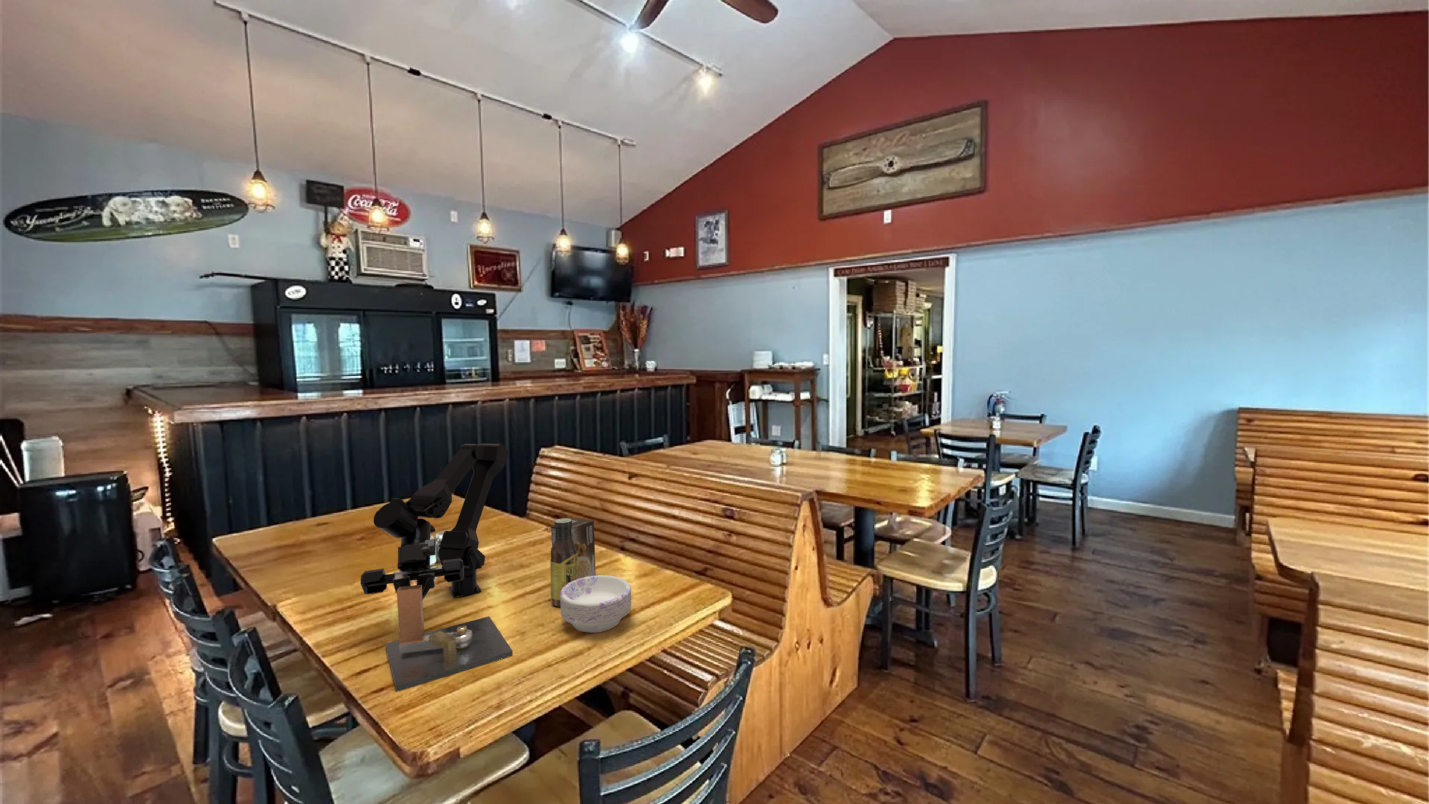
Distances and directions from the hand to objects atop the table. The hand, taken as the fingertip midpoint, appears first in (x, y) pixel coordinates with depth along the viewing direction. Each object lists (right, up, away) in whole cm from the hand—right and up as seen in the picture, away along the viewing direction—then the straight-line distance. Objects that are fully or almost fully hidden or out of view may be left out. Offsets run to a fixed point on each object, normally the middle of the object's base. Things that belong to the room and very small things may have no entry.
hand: (413, 615), depth 113 cm
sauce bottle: (+25, -5, +21) cm, 33 cm away
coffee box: (+25, -4, +32) cm, 40 cm away
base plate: (+8, -7, -1) cm, 10 cm away
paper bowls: (+35, -6, +11) cm, 37 cm away
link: (+6, -5, -2) cm, 8 cm away
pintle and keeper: (+9, -7, -3) cm, 12 cm away
